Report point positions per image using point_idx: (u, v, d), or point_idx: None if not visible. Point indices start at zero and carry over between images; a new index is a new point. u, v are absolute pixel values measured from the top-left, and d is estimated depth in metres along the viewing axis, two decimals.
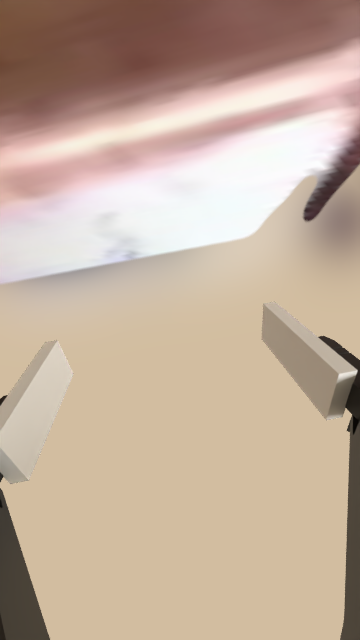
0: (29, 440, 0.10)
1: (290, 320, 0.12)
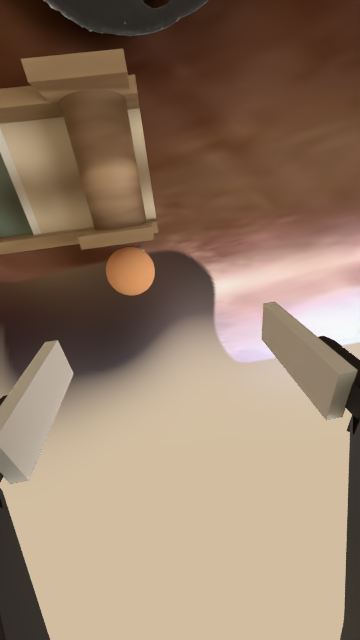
0: (29, 440, 0.10)
1: (290, 320, 0.12)
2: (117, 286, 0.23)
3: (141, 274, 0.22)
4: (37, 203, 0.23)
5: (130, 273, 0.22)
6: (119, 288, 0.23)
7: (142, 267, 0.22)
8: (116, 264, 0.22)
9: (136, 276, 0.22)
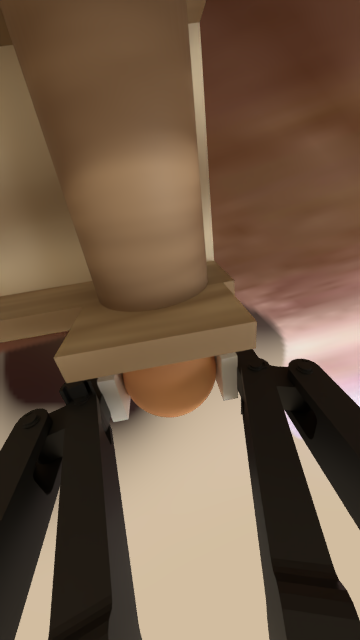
0: (125, 388, 0.12)
1: None
2: (147, 410, 0.11)
3: (199, 390, 0.10)
4: None
5: (178, 393, 0.10)
6: (151, 413, 0.11)
7: (201, 375, 0.10)
8: (146, 374, 0.10)
9: (190, 396, 0.10)
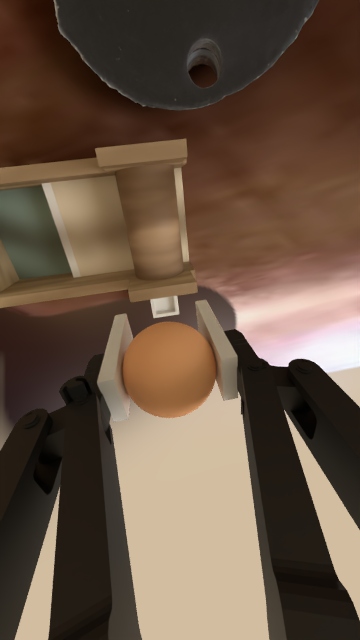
0: (125, 388, 0.12)
1: (209, 315, 0.14)
2: (147, 411, 0.11)
3: (199, 390, 0.10)
4: (79, 250, 0.24)
5: (178, 394, 0.10)
6: (151, 413, 0.11)
7: (201, 376, 0.10)
8: (146, 375, 0.10)
9: (190, 397, 0.10)
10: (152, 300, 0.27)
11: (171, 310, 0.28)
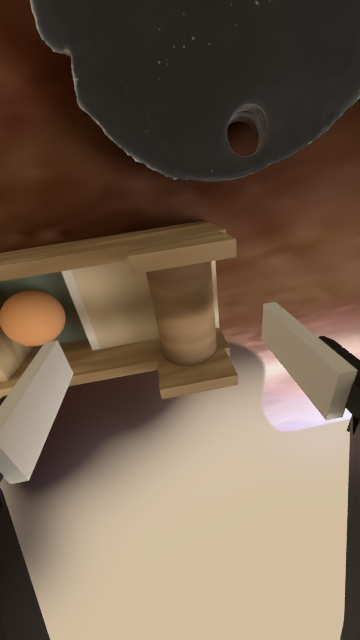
0: (29, 440, 0.10)
1: (290, 320, 0.12)
2: (30, 338, 0.19)
3: (57, 315, 0.20)
4: (99, 324, 0.22)
5: (46, 318, 0.19)
6: (33, 339, 0.19)
7: (55, 308, 0.20)
8: (22, 313, 0.18)
9: (53, 319, 0.20)
10: None
11: None
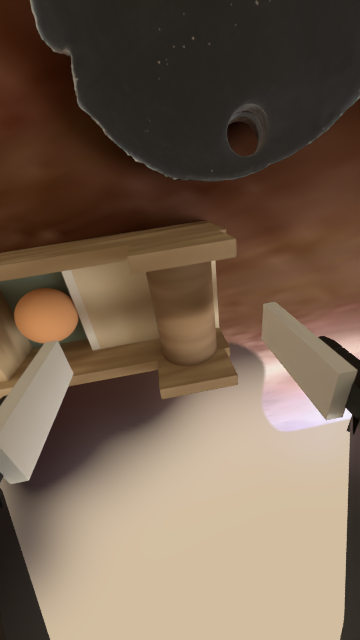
0: (29, 440, 0.10)
1: (290, 320, 0.12)
2: (60, 330, 0.19)
3: None
4: (99, 324, 0.22)
5: (71, 308, 0.20)
6: (62, 331, 0.20)
7: (72, 300, 0.21)
8: (52, 306, 0.19)
9: (75, 310, 0.21)
10: None
11: None
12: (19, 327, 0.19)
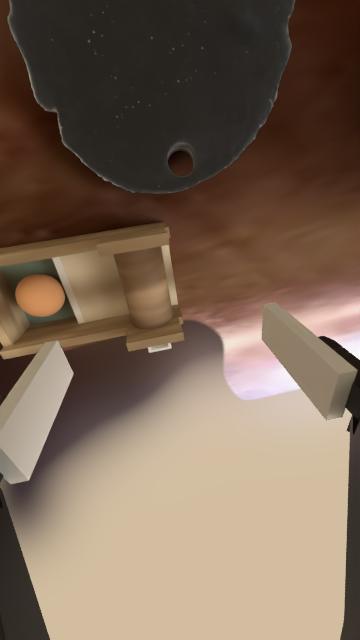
0: (29, 440, 0.10)
1: (290, 320, 0.12)
2: (48, 306, 0.26)
3: (62, 289, 0.27)
4: (83, 301, 0.28)
5: (57, 290, 0.26)
6: (50, 307, 0.26)
7: (60, 284, 0.27)
8: (42, 287, 0.25)
9: (61, 291, 0.27)
10: None
11: (164, 345, 0.32)
12: (18, 302, 0.25)
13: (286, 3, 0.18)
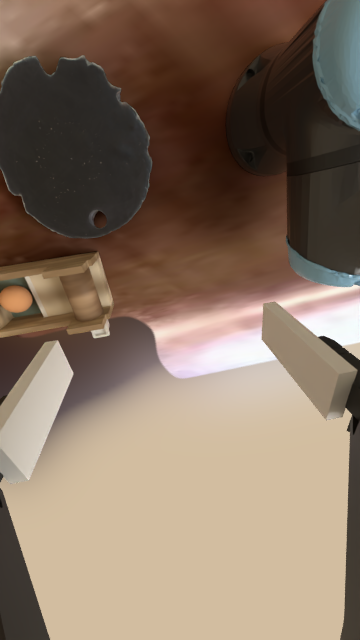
0: (29, 440, 0.10)
1: (290, 320, 0.12)
2: (17, 306, 0.40)
3: (29, 296, 0.42)
4: (45, 303, 0.43)
5: (24, 296, 0.41)
6: (18, 307, 0.41)
7: (27, 292, 0.42)
8: (13, 294, 0.40)
9: (27, 297, 0.42)
10: None
11: (104, 333, 0.47)
12: (0, 303, 0.40)
13: (144, 141, 0.32)
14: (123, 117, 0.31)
